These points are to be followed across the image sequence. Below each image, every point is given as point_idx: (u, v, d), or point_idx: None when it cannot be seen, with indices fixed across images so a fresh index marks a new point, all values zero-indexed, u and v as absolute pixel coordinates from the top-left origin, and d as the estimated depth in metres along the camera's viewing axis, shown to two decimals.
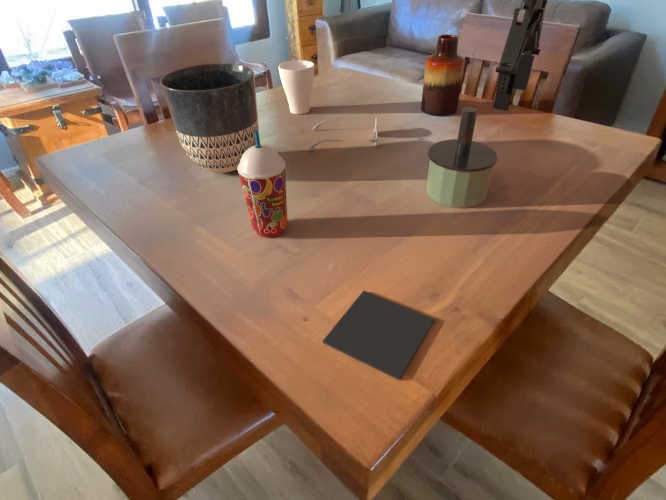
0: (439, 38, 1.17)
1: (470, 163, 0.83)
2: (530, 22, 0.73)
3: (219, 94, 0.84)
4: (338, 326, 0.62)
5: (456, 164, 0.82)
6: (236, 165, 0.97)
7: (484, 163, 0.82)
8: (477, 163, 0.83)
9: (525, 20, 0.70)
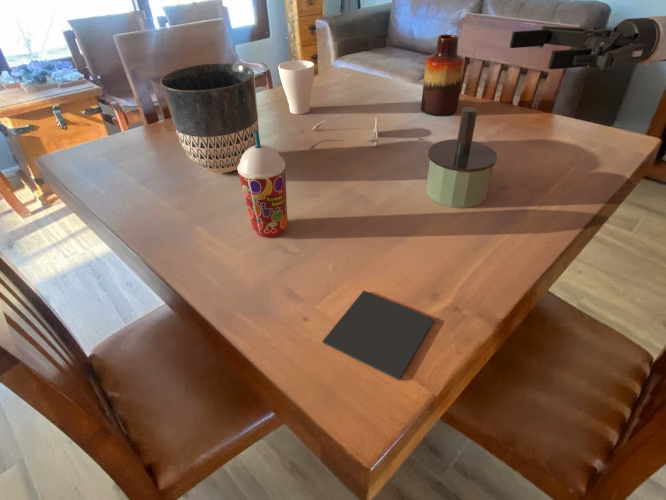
0: (439, 38, 1.17)
1: (470, 163, 0.83)
2: None
3: (219, 94, 0.84)
4: (338, 326, 0.62)
5: (456, 164, 0.82)
6: (236, 165, 0.97)
7: (484, 163, 0.82)
8: (477, 163, 0.83)
9: (586, 29, 0.81)
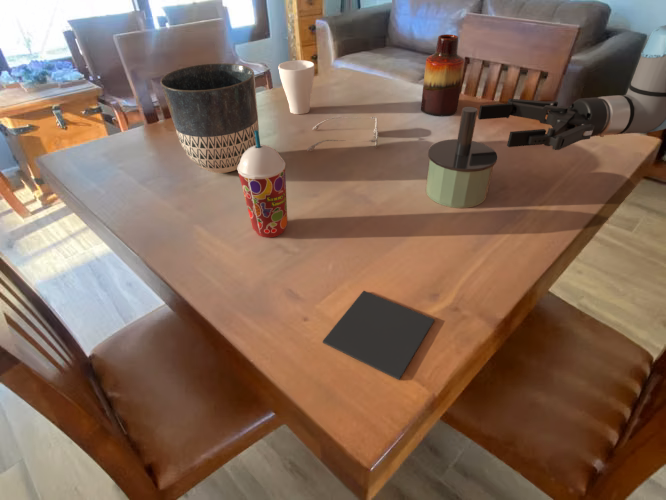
0: (439, 38, 1.17)
1: (470, 163, 0.83)
2: None
3: (219, 94, 0.84)
4: (338, 326, 0.62)
5: (456, 164, 0.82)
6: (236, 165, 0.97)
7: (484, 163, 0.82)
8: (477, 163, 0.83)
9: None
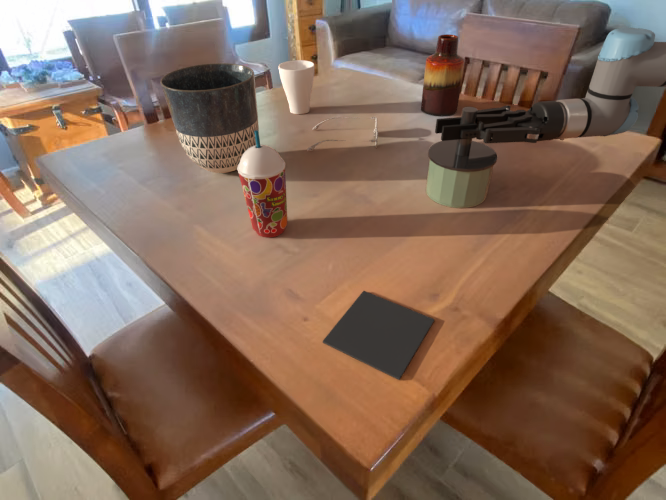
0: (439, 38, 1.17)
1: (470, 163, 0.83)
2: None
3: (219, 94, 0.84)
4: (338, 326, 0.62)
5: (456, 164, 0.82)
6: (236, 165, 0.97)
7: (484, 163, 0.82)
8: (477, 163, 0.83)
9: (501, 108, 0.88)
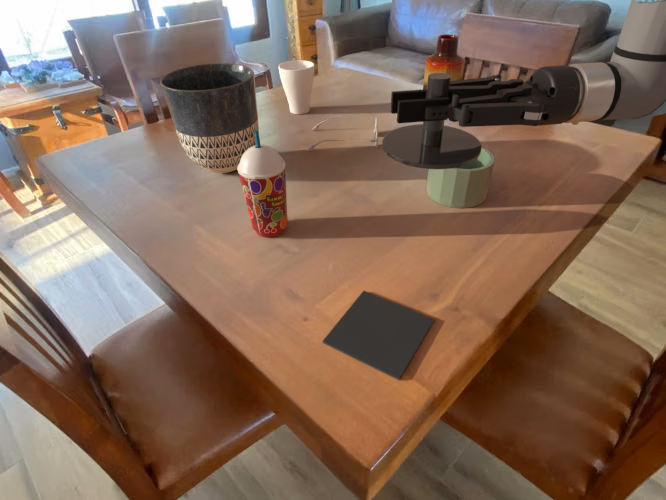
0: (439, 38, 1.17)
1: (440, 157, 0.56)
2: None
3: (219, 94, 0.84)
4: (338, 326, 0.62)
5: (419, 158, 0.56)
6: (236, 165, 0.97)
7: (461, 157, 0.56)
8: (451, 157, 0.56)
9: None
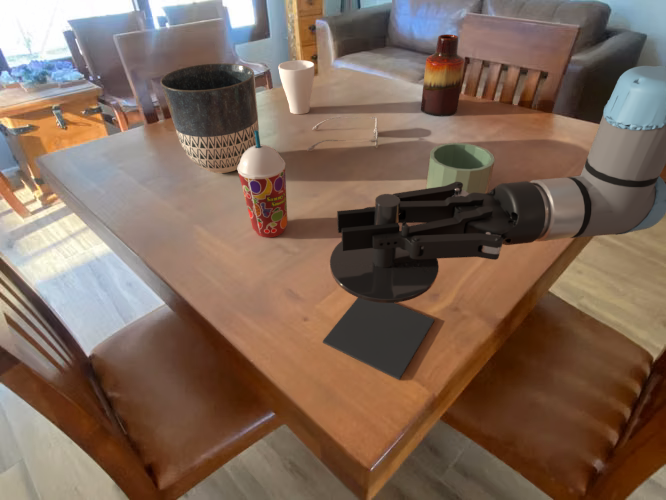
0: (439, 38, 1.17)
1: (391, 285, 0.50)
2: (465, 197, 0.53)
3: (219, 94, 0.84)
4: (338, 326, 0.62)
5: (367, 288, 0.50)
6: (236, 165, 0.97)
7: (414, 285, 0.50)
8: (402, 285, 0.50)
9: None
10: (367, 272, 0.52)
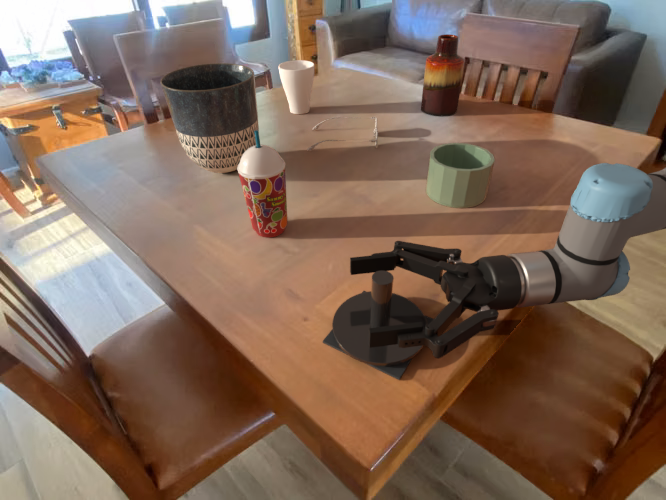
0: (439, 38, 1.17)
1: (386, 349, 0.58)
2: None
3: (219, 94, 0.84)
4: None
5: (365, 351, 0.57)
6: (236, 165, 0.97)
7: (406, 349, 0.57)
8: (396, 349, 0.57)
9: (449, 250, 0.63)
10: (365, 335, 0.59)
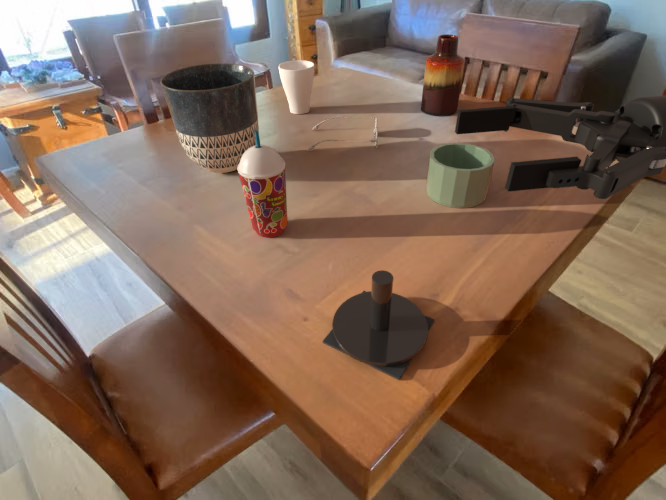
0: (439, 38, 1.17)
1: (386, 349, 0.58)
2: None
3: (219, 94, 0.84)
4: None
5: (365, 351, 0.57)
6: (236, 165, 0.97)
7: (406, 349, 0.57)
8: (396, 349, 0.57)
9: None
10: (365, 335, 0.59)
